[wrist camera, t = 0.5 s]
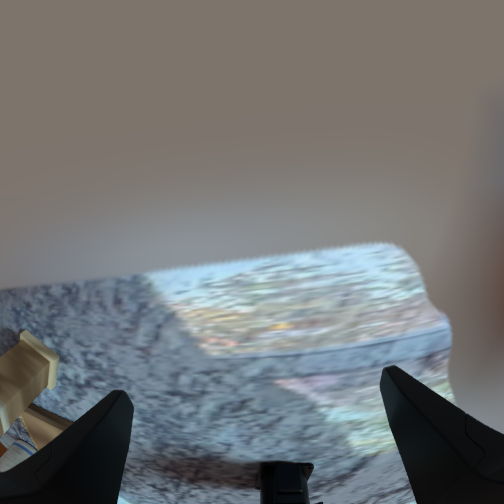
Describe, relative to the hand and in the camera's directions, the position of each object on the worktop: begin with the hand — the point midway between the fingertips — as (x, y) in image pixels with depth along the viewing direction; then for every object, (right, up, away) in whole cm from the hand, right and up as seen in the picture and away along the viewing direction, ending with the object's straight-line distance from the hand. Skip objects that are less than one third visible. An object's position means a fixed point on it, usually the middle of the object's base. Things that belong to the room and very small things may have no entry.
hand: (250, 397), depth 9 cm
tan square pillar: (-25, -8, +17) cm, 31 cm away
